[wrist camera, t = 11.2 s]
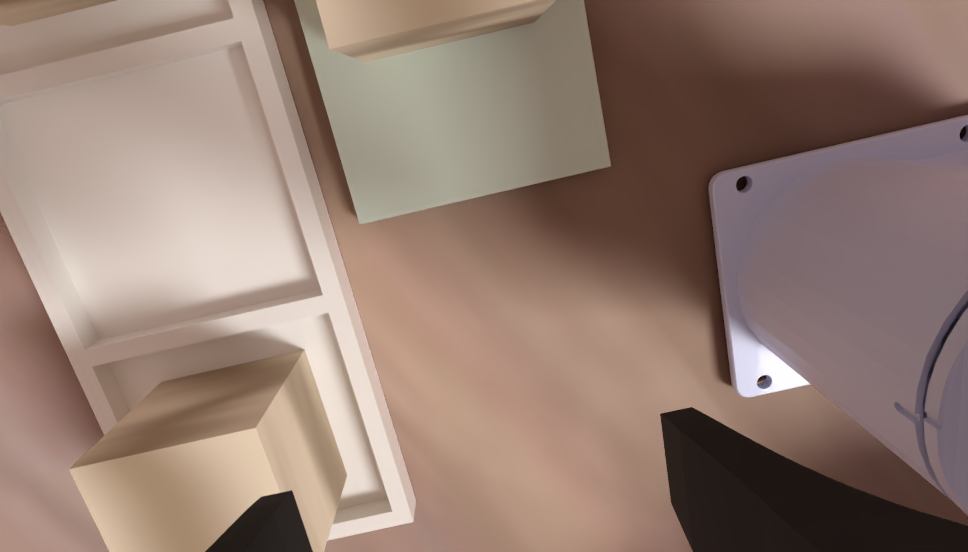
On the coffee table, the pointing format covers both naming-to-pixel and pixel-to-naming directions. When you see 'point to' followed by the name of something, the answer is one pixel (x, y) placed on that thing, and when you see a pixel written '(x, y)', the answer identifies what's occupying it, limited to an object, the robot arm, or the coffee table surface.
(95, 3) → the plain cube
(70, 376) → the coffee table surface
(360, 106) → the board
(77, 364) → the sorting tray
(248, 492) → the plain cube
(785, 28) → the coffee table surface
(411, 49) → the lettered cube
